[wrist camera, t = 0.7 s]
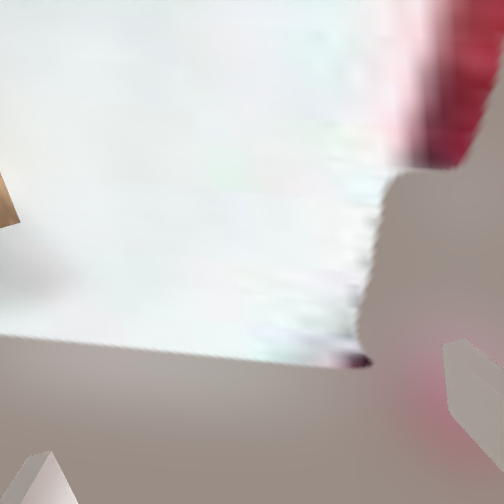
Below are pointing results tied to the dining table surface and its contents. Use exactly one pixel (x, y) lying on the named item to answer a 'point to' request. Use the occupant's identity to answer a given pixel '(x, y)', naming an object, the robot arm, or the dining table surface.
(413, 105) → the dining table surface
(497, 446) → the robot arm
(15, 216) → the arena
